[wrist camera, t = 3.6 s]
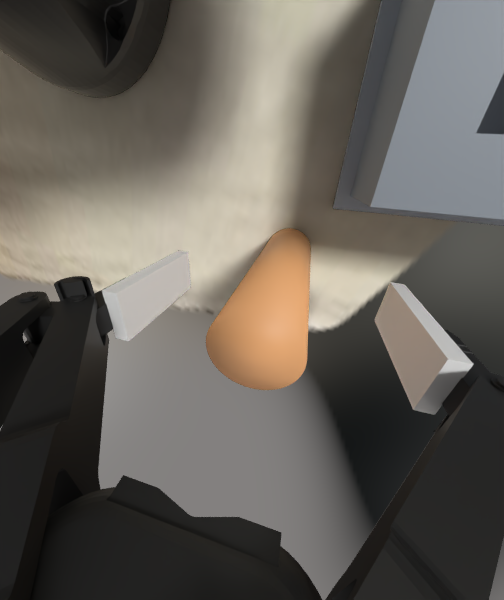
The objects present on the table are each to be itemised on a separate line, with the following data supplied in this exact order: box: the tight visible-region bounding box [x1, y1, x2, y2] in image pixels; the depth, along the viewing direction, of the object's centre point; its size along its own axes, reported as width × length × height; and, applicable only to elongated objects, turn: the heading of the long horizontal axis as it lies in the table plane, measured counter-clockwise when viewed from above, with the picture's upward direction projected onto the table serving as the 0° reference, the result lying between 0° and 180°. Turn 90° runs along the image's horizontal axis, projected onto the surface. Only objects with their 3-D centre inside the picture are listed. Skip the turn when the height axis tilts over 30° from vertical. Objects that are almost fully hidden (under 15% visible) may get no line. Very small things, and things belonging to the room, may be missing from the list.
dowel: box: [206, 228, 311, 390], centre depth 15 cm, size 4×4×14 cm
